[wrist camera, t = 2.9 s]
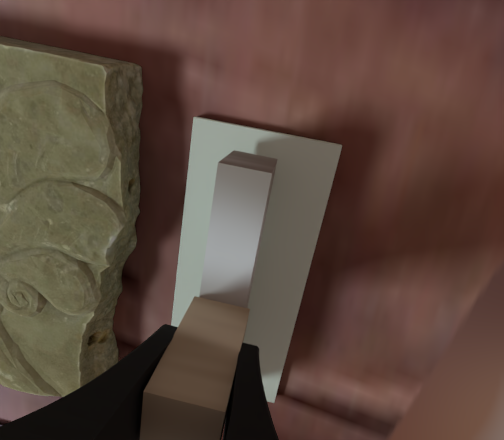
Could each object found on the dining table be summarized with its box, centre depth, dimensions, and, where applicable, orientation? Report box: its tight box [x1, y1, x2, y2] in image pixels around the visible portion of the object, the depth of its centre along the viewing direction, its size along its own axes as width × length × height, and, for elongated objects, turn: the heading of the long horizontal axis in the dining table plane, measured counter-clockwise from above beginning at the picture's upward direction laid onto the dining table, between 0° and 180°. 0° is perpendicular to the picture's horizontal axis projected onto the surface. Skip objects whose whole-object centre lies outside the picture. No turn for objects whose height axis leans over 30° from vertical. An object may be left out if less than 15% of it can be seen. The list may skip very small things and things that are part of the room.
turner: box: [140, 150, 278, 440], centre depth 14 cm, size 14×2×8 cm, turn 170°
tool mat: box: [171, 117, 342, 403], centre depth 19 cm, size 16×7×1 cm, turn 170°
